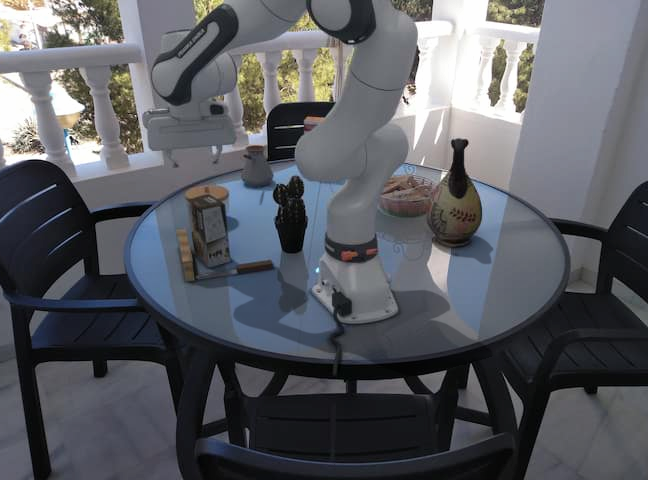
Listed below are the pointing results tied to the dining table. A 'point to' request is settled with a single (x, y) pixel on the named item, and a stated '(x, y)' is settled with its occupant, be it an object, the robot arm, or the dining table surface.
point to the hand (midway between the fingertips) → (196, 165)
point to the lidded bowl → (213, 190)
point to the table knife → (240, 269)
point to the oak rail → (186, 254)
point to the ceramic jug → (455, 203)
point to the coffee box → (209, 230)
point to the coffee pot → (256, 167)
